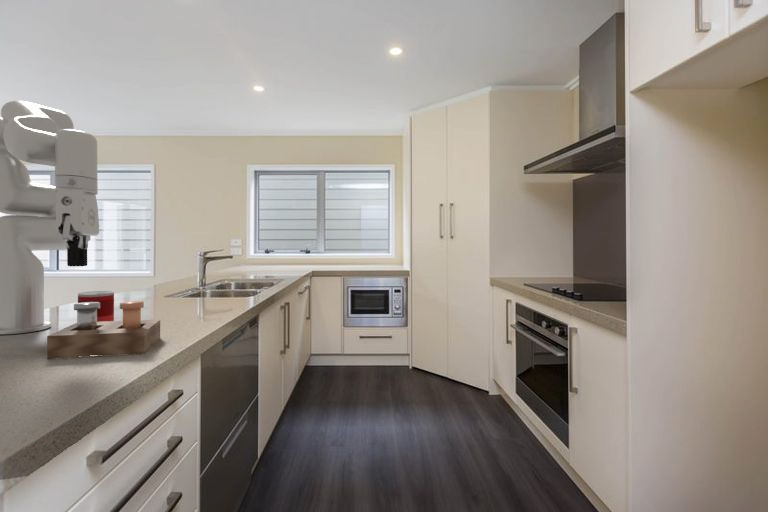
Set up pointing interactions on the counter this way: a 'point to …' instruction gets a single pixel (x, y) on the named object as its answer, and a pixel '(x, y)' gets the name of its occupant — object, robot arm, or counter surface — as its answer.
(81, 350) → the socket block
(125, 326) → the terracotta plug
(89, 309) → the grey plug
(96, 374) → the counter surface
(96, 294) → the canned food
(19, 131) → the robot arm
